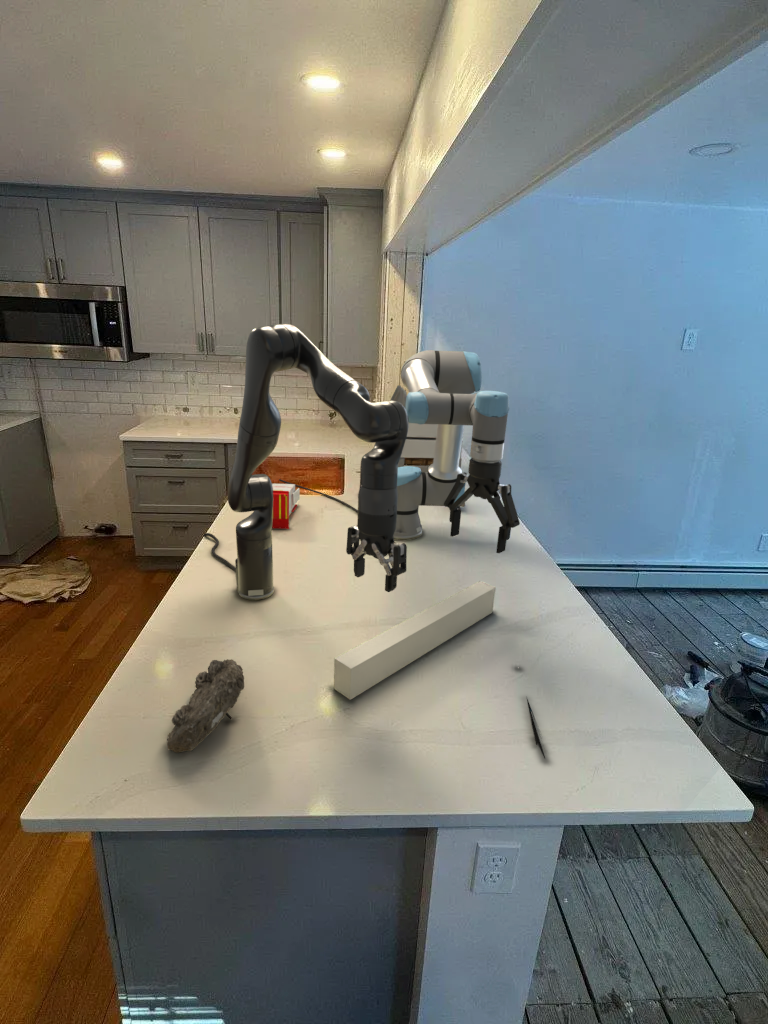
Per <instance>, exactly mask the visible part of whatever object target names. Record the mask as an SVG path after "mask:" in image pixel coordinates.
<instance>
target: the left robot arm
mask: <svg viewBox="0 0 768 1024" xmlns="http://www.w3.org/2000/svg"><path fill="white" fill-rule="evenodd" d="M292 369H298V370H300V371H302V372H304V373H306V374H307V375H308V376H309V377H310V382H311V386H312V388H313V392H314V393H315V395H316V396H317V398H318V399H319V400H320V401H321V402H322V403H324V404H325V405H326V406H327V407H329V408H330V409H331V410H333V411H334V412H335V413H336V414H337V415H340V416H341V418H342V420H343V421H344V422H345V424H346V425H347V426H348V428H349V430H350V431H351V432H352V434H353V435H354V436H355V437H357V438H358V439H359V440H361V441H363V442H366V443H371V444H372V443H373V444H374V446H373V448H372V449H371V450H369V451H368V452H366V453H365V454H364V455H363V456H362V457H361V460H360V468H359V469H360V471H359V487H358V488H359V489H358V496H357V510H358V512H357V523H356V525H352V526H349V527H348V528H347V534H346V549H345V551H346V554H347V555H351V558H352V560H353V574H354V577H356V578H360V577H363V576H364V575H365V571H366V569H365V568H366V558H365V557H366V555H367V556H372V557H373V558H374V559H376V560H378V562H379V565H380V566H382V567H383V568H384V571H385V580H384V591H385V592H387V593H390V592H393V591H394V590H395V589H396V588H397V586H398V585H397V583H398V576H400V575H402V574H405V573H406V572H407V556H408V553H407V551H408V550H407V549H408V546H407V544H406V543H405V542H401V543H398V542H395V539H394V538H393V535H394V532H395V530H396V521H397V502H398V493H397V477H398V463H399V460H400V457H401V454H402V451H403V447H404V444H405V441H406V437H407V433H408V428H409V420H408V415H407V412H406V409H405V408H404V406H403V405H402V404H401V403H399V402H397V401H392V400H391V399H390V400H383V401H375V402H372V401H370V399H371V398H370V393H369V390H368V388H366V386H364V385H363V384H362V383H361V382H359V381H357V380H356V379H354V378H353V377H352V376H350V375H349V374H348V373H346V372H344V371H343V370H342V369H340V368H339V367H338V366H336V365H335V364H334V363H333V362H332V361H331V360H330V359H328V357H327V356H326V355H325V354H323V352H322V351H321V350H320V349H319V348H318V347H317V346H316V345H315V344H314V343H313V342H312V341H311V340H310V339H309V337H307V336H306V335H305V333H303V332H302V331H301V330H300V329H299V328H298V327H296V326H295V325H293V324H290V323H278V324H272V325H271V324H270V325H261V326H258V327H255V328H253V329H252V330H251V331H250V332H249V334H248V337H247V342H246V347H245V373H244V375H245V376H244V389H243V400H242V406H241V412H240V418H239V424H238V431H237V440H236V447H235V448H236V449H235V455H234V461H233V464H232V468H231V472H230V475H229V479H228V483H227V493H226V494H227V495H226V496H227V504H228V506H229V508H230V509H231V510H232V512H235V513H249V512H252V513H251V514H250V515H248V516H247V517H245V518H244V519H241V520H240V521H238V522H237V523H236V526H235V538H236V539H235V540H236V541H235V542H236V558H235V560H234V562H235V563H234V564H235V566H234V565H233V564H232V563H230V562H229V561H228V560H227V559H225V558H224V557H222V556H220V555H218V554H217V553H216V551H215V550H216V549H217V548H218V546H219V545H220V540H219V539H218V538H217V537H216V536H215V535H214V534H213V533H210V532H205V533H204V534H203V535H202V537H203V538H206V537H210V538H211V539H213V540H214V542H215V544H214V545H213V546H212V548H211V551H210V552H211V555H212V556H213V557H214V558H215V559H217V560H219V561H221V562H222V563H224V564H225V565H226V566H228V568H230V569H231V570H232V571H234V572H235V581H236V582H235V583H236V585H235V586H236V591H237V592H238V596H239V597H240V598H242V599H245V600H248V601H260V600H265V599H267V598H269V597H271V596H273V594H274V592H275V587H274V561H273V560H274V558H273V528H272V525H273V486H272V484H273V483H272V480H271V478H270V476H268V474H265V473H257V474H254V472H255V471H256V470H257V468H258V467H260V465H262V463H264V461H265V460H266V459H267V458H269V456H270V455H272V453H273V451H274V450H275V449H276V447H277V445H278V441H279V438H280V437H279V436H280V433H281V427H282V416H281V413H280V410H279V409H278V407H277V405H276V403H275V402H274V400H273V398H272V395H271V393H270V389H271V388H270V386H271V379H272V376H273V374H274V373H278V372H282V371H289V370H292ZM387 556H388V558H386V557H387Z"/></svg>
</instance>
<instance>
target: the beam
mask: <svg viewBox="0 0 768 1024" xmlns="http://www.w3.org/2000/svg"><path fill="white" fill-rule="evenodd" d="M495 594H496V586H494V585H491V584H488V583H487V582H484V581H482V580H479V581H476V582H475V583H473V584H471V585H469V586H467V587H465V588H463V589H461V590H459V591H458V592H455V593H454V594H452V595H450V596H448V597H447V598H445V599H443V600H441V601H439V602H437V603H435V604H433V605H431V606H430V607H427V608H426V609H424V610H421V611H420V612H418V613H416V614H414V615H413V616H411V617H409V618H407V619H405V620H403V621H401V622H400V623H398V624H395V625H394V626H392V627H390V628H388V629H387V630H384V631H382V632H381V633H379V634H377V635H375V636H374V637H371V638H369V639H367V640H366V641H364V642H362V643H360V644H358V645H356V646H355V647H352V648H350V649H349V650H347V651H345V652H343V653H341V654H339V655H337V656H336V657H334V659H333V665H334V666H333V689H334V690H335V691H337V692H338V693H339V694H341V695H342V696H344V697H345V698H347V699H348V700H350V701H351V700H352V699H355V698H356V697H358V696H359V695H362V693H364V692H365V691H367V690H369V689H371V688H372V687H374V686H375V685H377V684H379V683H380V682H382V681H384V680H385V679H387V678H388V677H390V676H391V675H393V674H395V673H397V672H398V671H399V670H402V669H404V668H405V667H406V666H408V665H410V664H411V663H412V662H414V661H416V660H418V659H419V658H421V657H423V656H424V655H425V654H428V653H430V652H431V651H432V650H434V649H435V648H438V647H439V646H440V645H442V644H444V643H445V642H447V641H449V640H451V639H452V638H453V637H455V636H457V635H459V634H460V633H462V632H463V631H465V630H466V629H468V628H470V627H471V626H473V625H474V624H476V623H478V622H479V621H481V620H482V619H484V618H485V617H487V616H489V615H490V614H493V613H494V603H495V596H496V595H495Z"/></svg>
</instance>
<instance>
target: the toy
mask: <svg viewBox="0 0 768 1024" xmlns="http://www.w3.org/2000/svg"><path fill="white" fill-rule="evenodd" d="M295 485H296V484H295V483H292V484H287V483H272V486H273V525H272V529H282V530H283V529H284V530H285V529H286V530H289V529H290V515H291V513H294V512H295V510H296V509H297V507H298V504H297V503H298V502H299V501H300V499H301V490H300V489H301V488H299V487H297V489H296V486H295Z"/></svg>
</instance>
